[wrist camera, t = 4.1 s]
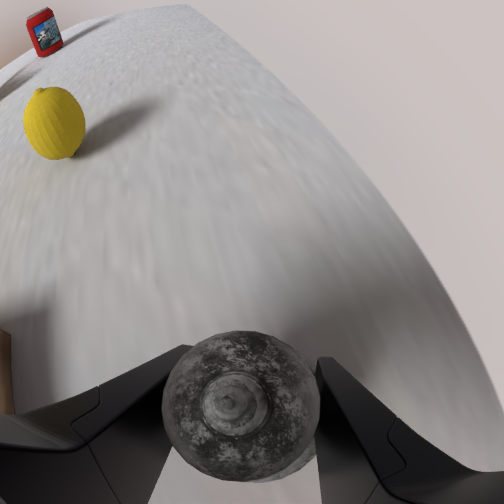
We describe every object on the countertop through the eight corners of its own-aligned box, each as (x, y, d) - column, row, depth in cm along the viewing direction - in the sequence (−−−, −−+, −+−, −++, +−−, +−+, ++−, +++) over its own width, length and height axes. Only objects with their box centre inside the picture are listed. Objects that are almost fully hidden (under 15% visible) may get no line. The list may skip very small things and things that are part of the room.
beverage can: (50, 56, 46) (35, 14, 35) (34, 61, 47) (18, 22, 36) (69, 42, 49) (56, 2, 39) (52, 48, 50) (39, 10, 40)
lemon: (41, 165, 24) (5, 105, 18) (82, 131, 26) (54, 68, 20) (60, 185, 23) (17, 116, 16) (107, 146, 25) (75, 74, 18)
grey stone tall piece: (178, 435, 13) (-10, 440, 3) (230, 338, 16) (160, 164, 5) (286, 485, 12) (333, 630, 1) (335, 382, 14) (482, 281, 4)
